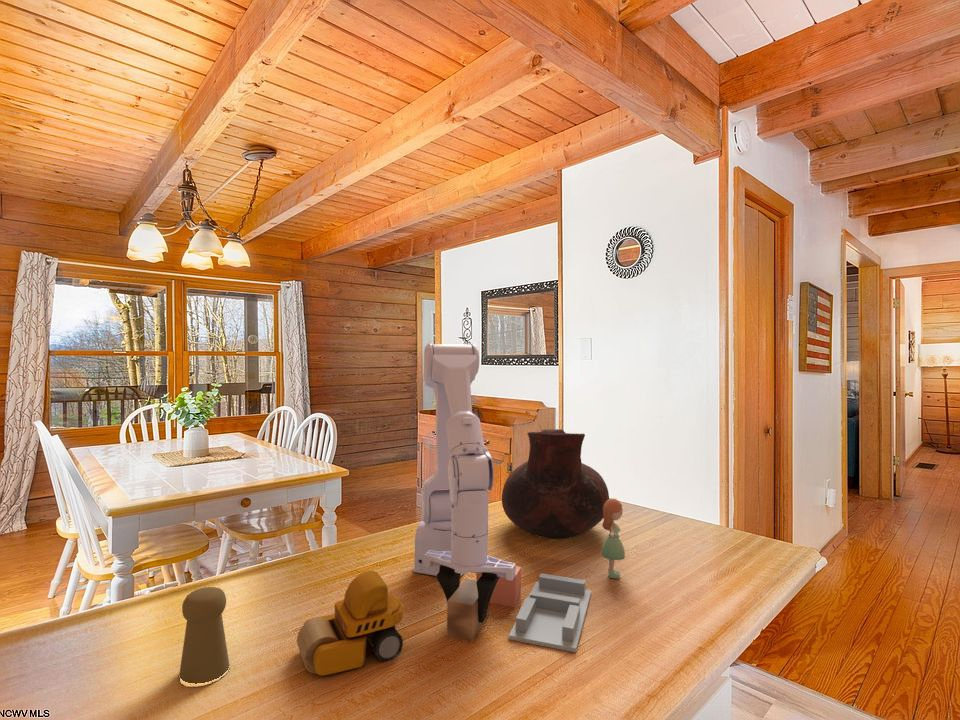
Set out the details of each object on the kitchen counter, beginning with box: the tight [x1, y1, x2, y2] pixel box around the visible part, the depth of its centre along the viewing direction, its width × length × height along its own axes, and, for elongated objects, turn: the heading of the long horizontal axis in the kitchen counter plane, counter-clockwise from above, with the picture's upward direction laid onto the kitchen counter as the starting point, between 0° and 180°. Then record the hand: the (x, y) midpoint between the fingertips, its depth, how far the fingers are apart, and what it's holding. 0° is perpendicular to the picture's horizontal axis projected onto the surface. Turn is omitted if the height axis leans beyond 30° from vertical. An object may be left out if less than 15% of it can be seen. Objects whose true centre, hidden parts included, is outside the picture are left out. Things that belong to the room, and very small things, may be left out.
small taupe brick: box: [446, 578, 489, 643], centre depth 83 cm, size 4×8×6 cm, turn 161°
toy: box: [601, 497, 626, 579], centre depth 101 cm, size 13×4×15 cm, turn 168°
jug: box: [501, 428, 610, 540], centre depth 125 cm, size 25×25×25 cm
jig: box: [508, 572, 592, 653], centre depth 87 cm, size 10×19×3 cm, turn 161°
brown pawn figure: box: [178, 586, 230, 684], centre depth 70 cm, size 6×6×11 cm
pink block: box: [475, 565, 522, 608], centre depth 92 cm, size 7×4×6 cm, turn 72°
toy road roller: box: [296, 570, 404, 676], centre depth 76 cm, size 9×14×10 cm, turn 119°
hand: (468, 616), depth 83 cm, fingers closed on small taupe brick, 4 cm apart
